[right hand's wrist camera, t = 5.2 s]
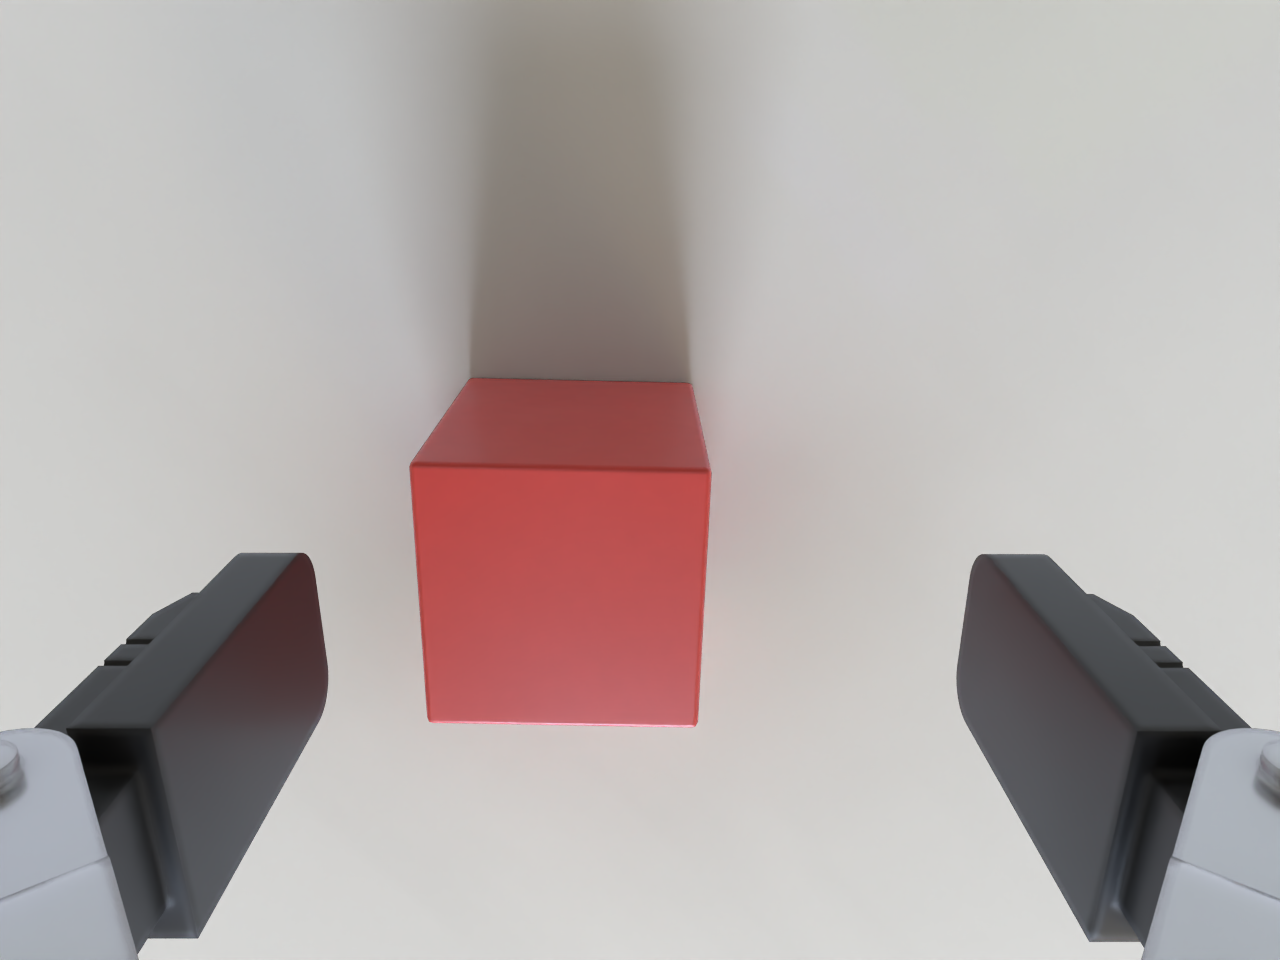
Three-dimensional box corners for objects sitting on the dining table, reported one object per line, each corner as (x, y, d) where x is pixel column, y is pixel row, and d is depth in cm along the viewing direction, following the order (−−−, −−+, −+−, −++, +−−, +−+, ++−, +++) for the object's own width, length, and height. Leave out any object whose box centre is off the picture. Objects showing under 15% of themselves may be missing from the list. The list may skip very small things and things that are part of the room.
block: (683, 586, 18) (698, 729, 14) (477, 582, 18) (425, 724, 14) (693, 381, 17) (712, 468, 12) (468, 377, 16) (407, 462, 12)
